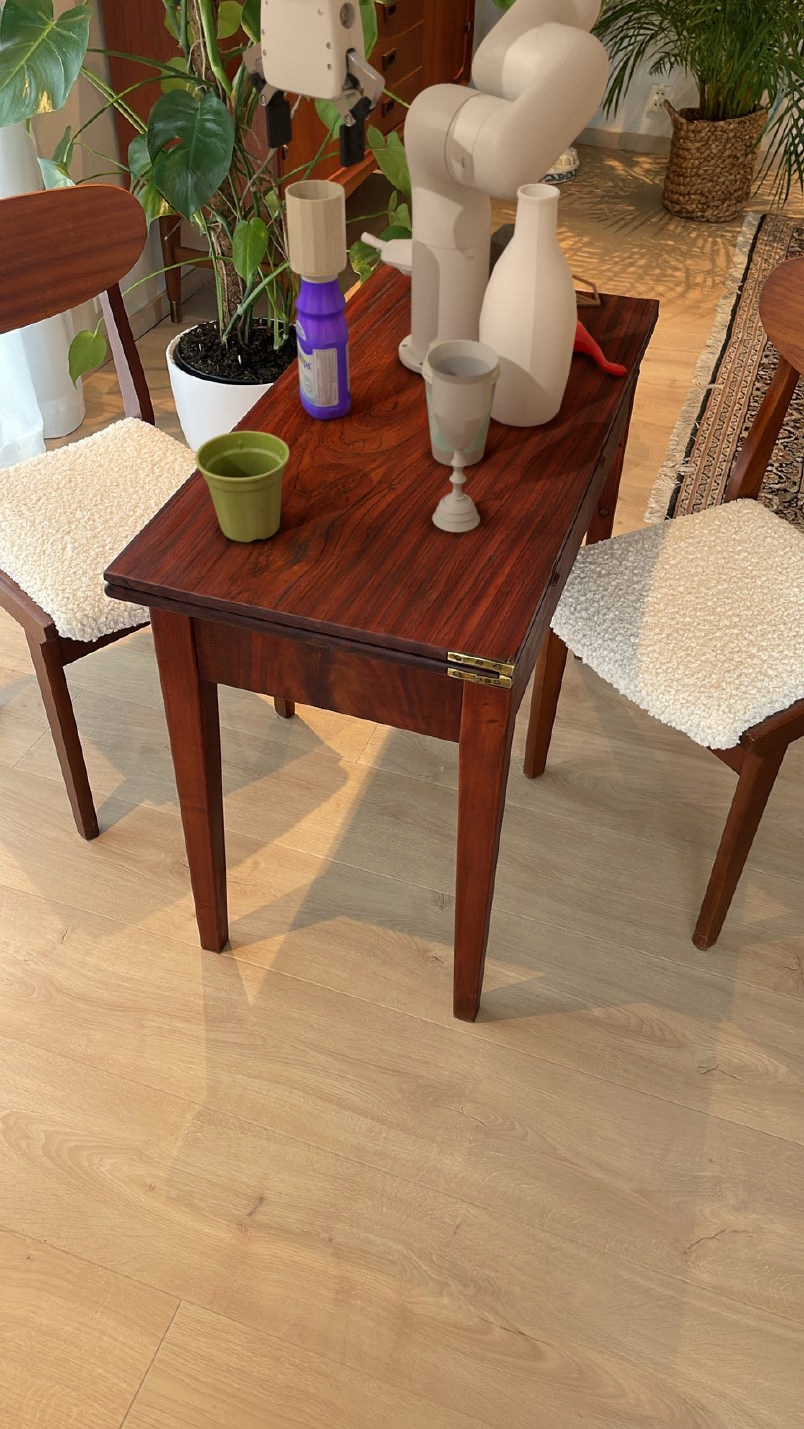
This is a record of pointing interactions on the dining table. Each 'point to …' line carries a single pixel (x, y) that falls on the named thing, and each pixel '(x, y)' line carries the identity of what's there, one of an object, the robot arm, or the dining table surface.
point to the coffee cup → (438, 442)
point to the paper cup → (316, 227)
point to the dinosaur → (594, 350)
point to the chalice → (460, 418)
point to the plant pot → (245, 482)
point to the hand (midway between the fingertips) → (315, 154)
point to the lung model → (393, 252)
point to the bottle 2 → (531, 314)
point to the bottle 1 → (323, 348)
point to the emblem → (584, 300)
